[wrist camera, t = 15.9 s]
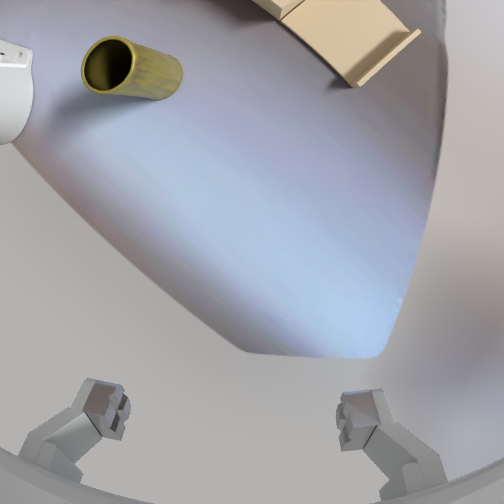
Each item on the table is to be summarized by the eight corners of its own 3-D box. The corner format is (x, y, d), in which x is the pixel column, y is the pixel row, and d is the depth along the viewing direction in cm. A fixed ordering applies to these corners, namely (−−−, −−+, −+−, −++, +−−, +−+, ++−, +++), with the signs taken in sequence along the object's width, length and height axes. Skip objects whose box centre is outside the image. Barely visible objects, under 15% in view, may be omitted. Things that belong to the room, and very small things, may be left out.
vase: (178, 102, 33) (133, 100, 21) (133, 98, 33) (71, 99, 20) (187, 55, 31) (147, 29, 18) (141, 53, 30) (83, 33, 17)
